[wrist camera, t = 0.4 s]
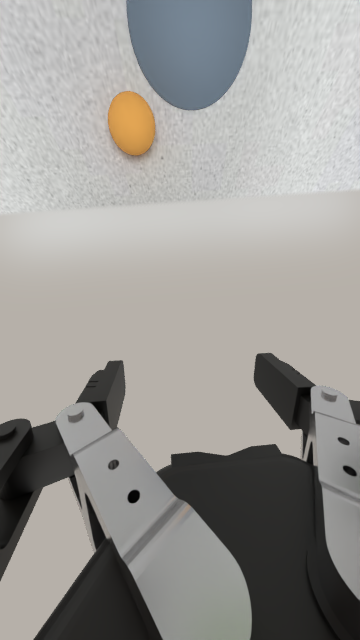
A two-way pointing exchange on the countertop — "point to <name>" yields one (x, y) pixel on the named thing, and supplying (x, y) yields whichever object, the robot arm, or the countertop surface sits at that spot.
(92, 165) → the countertop surface
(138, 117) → the ball
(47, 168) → the countertop surface
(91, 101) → the countertop surface
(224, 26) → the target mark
